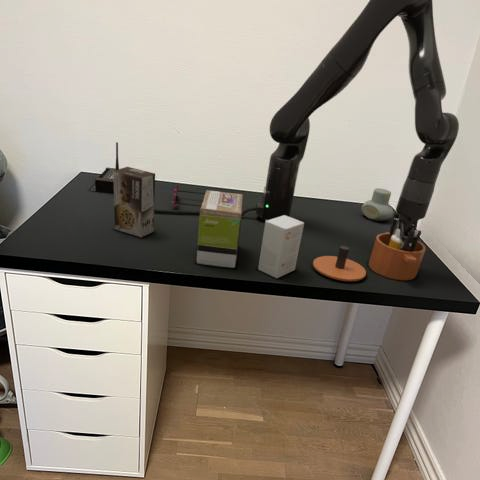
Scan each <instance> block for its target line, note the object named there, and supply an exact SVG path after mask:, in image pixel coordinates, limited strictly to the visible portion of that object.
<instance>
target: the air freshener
mask: <svg viewBox="0 0 480 480" xmlns="http://www.w3.org/2000/svg"><path fill="white" fill-rule="evenodd" d="M391 197H392V191H390V190H388V189H385V188H380V187H377V188H374V190H373V193H372V195H371V199H370V200H367V201H365V202H364V203H362V205H361V212H362V214H363V215H364V216H365V217H366V218H367V219H368V220H371V221H375V222H381V221H382V222H383V221H387V220H389V219H391V218H392V217H393V216H394V209H393V207H392V206H391V204H390V199H391Z"/></svg>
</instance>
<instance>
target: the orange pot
mask: <svg viewBox="0 0 480 480" xmlns="http://www.w3.org/2000/svg"><path fill="white" fill-rule="evenodd" d="M391 236H392V235H390V231H385V232H384V233H379V234H377V235H376V237H375V240H374V244H373V247H372V250H371V254H370V258H369V261H368V267H369V268H370V269H371V270H372V271H373V273H374V272H375V273H376V274H378V275H380V276H382V277H385V278H388V279H392V280H395V281H411V280H413V279H415V278H416V277H417V275H418V272H419V270H420V267H421V264H422V261H423V258H424V255H425V253H426V248H427V247H426V245H424V243H423V242H421V241H419V240H418V241H417V244H416V246H415V248H414V250H413V251H403V250H398V249H395V248H392V247H389V243H390V239H391ZM411 245H412V244H411Z"/></svg>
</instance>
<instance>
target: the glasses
mask: <svg viewBox="0 0 480 480" xmlns="http://www.w3.org/2000/svg"><path fill="white" fill-rule="evenodd" d="M173 192H174V201H171V205H173V210H176V205H182V206H190V207H191V206H192V207H201V206H202V204H194V203H193V204H192V203H184V202H179V198H180V197H179V195H178V192H179V193H187V194H188V193H189V194H199V195H205V193H206V192H197V191H188V190H181V189H179V185H176V187H175V189H173Z"/></svg>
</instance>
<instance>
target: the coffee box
mask: <svg viewBox="0 0 480 480" xmlns="http://www.w3.org/2000/svg"><path fill="white" fill-rule="evenodd" d="M113 177H114V194H113V206H114V207H113V208H114V230H115V231H118V232H123V233H126V234H129V235H132V236H135V237H139V238H143V237H145V236H147V235H149V234H152V233H154V231H155V212H154V209H155V196H156V195H155V193H156V173H154V172H150V171H147V170H142V169H139V168H134V167H131V166H124V167H121V168H119V170H116V171H113Z"/></svg>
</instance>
